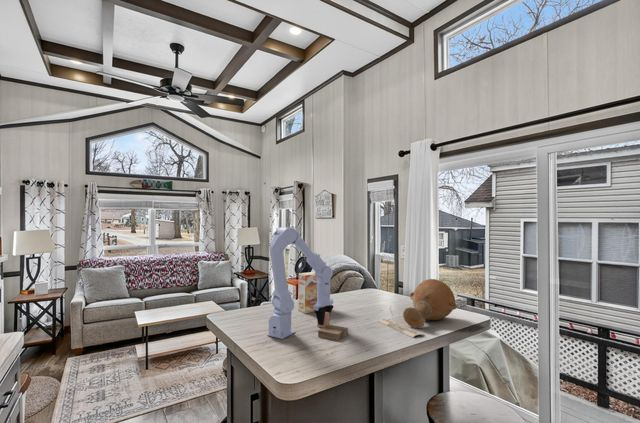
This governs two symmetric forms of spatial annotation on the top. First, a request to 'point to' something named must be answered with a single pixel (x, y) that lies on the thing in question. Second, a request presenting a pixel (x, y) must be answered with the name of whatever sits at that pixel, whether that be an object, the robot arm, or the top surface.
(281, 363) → the top surface
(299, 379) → the top surface
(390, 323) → the newspaper
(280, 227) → the robot arm
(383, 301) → the top surface
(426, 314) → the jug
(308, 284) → the coffeecake box
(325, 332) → the walnut base block
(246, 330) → the top surface
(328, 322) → the terracotta block
